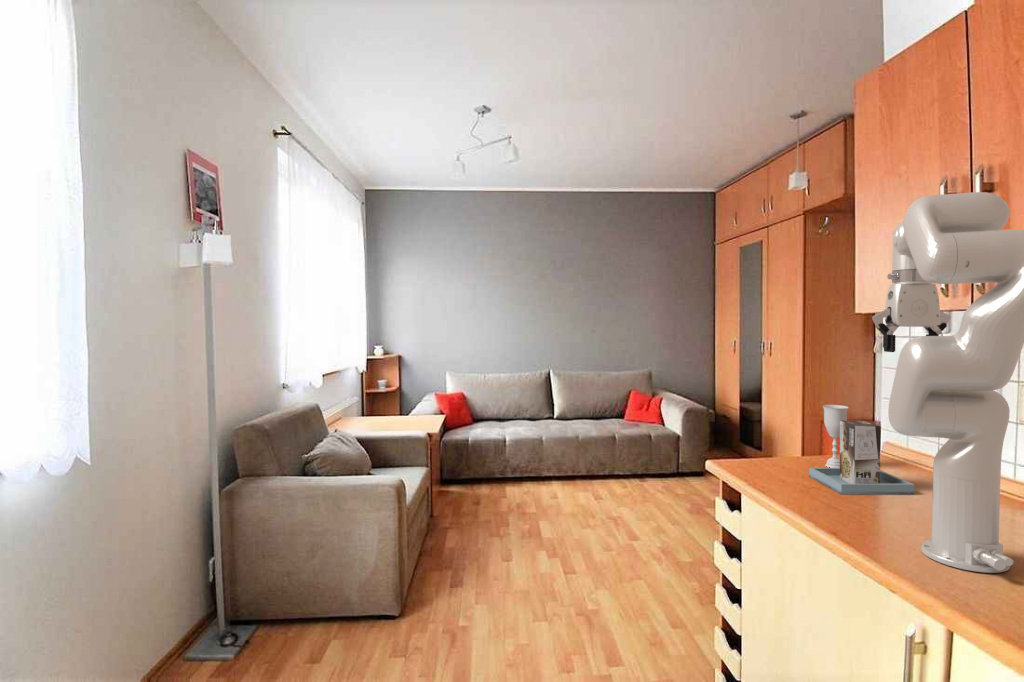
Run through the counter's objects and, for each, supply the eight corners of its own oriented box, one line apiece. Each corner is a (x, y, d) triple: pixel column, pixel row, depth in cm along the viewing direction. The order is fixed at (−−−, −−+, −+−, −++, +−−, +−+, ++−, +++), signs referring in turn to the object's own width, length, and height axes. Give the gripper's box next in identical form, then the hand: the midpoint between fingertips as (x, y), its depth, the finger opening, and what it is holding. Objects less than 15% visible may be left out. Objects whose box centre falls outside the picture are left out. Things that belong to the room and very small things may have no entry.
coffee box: (881, 488, 143) (882, 425, 142) (853, 487, 144) (854, 425, 143) (863, 478, 152) (864, 419, 151) (838, 477, 153) (839, 419, 152)
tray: (914, 494, 140) (914, 484, 139) (841, 494, 140) (841, 484, 140) (874, 476, 156) (874, 467, 155) (809, 476, 156) (809, 467, 156)
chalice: (852, 470, 162) (853, 408, 162) (826, 469, 164) (827, 408, 163) (842, 463, 170) (842, 405, 169) (817, 462, 171) (818, 404, 170)
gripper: (884, 277, 126) (883, 352, 127) (962, 276, 126) (960, 352, 126) (864, 280, 134) (863, 351, 134) (937, 279, 133) (936, 350, 134)
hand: (910, 351), depth 130 cm, fingers open, 9 cm apart
